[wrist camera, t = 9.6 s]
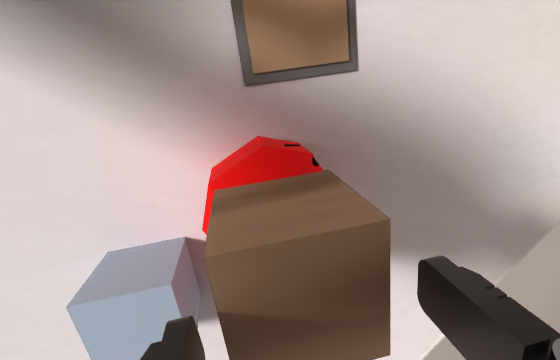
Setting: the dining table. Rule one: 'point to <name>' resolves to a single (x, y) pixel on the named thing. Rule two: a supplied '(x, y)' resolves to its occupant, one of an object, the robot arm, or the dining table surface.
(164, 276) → the slate cube
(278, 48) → the walnut swatch
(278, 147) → the ball
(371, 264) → the walnut cube
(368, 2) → the dining table surface
